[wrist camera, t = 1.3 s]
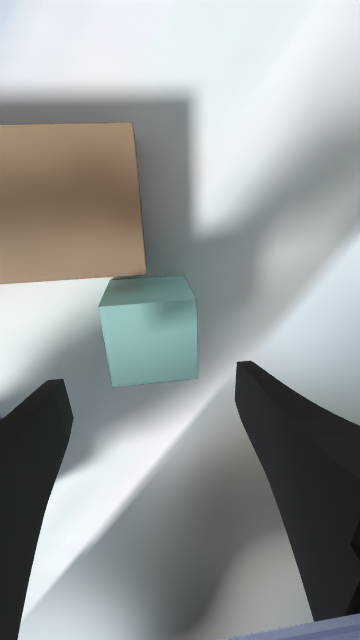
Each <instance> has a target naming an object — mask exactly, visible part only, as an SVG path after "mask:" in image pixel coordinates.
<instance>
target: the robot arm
mask: <svg viewBox="0 0 360 640" xmlns="http://www.w3.org/2000/svg"><path fill="white" fill-rule="evenodd" d="M235 402H236V406H237V409H238V412H239V415H240V418H241V421H242V423H243V426H244V428H245V430H246V432H247V434H248V436H249V439H250V441H251V443H252V445H253V447H254V449H255V452H256V454H257V456H258V458H259V460H260V462H261V464H262V466H263V469H264V471H265V473H266V475H267V478H268V480H269V483H270V485H271V488H272V491H273V494H274V497H275V500H276V502H277V505H278V508H279V511H280V514H281V517H282V520H283V523H284V526H285V528H286V531H287V534H288V538H289V541H290V544H291V547H292V550H293V553H294V556H295V559H296V563H297V566H298V569H299V572H300V575H301V579H302V582H303V586H304V589H305V592H306V596H307V599H308V602H309V606H310V609H311V612H312V616H313V619H314V622H311V623H306V624H301V625H295V626H290V627H284V628H279V629H273V630H268V631H263V632H257V633H252V634H246V635H241V636H236V637H230V638H225V639H219V640H360V426H359V425H357V424H355V423H352V422H350V421H348V420H346V419H344V418H342V417H339V416H337V415H335V414H333V413H332V412H330V411H328V410H326V409H324V408H322V407H320V406H318V405H317V404H315V403H313V402H311V401H309V400H308V399H306V398H305V397H303V396H301V395H300V394H298V393H297V392H295V391H294V390H292V389H291V388H289V387H288V386H286V385H285V384H283V383H282V382H280V381H279V380H277V379H276V378H275V377H273V376H272V375H270V374H269V373H268V372H266V371H265V370H263V369H262V368H261V367H259V366H258V365H256V364H255V363H254V362H252V361H242V362H237V369H236V387H235ZM72 423H73V414H72V410H71V406H70V403H69V399H68V395H67V391H66V388H65V384H64V380H63V379H57V380H48V381H46V382H45V383H44V384H42V385H41V386H40V387H39V388H38V389H37V390H35V391H34V392H33V393H32V394H31V395H30V396H29V397H27V398H26V399H25V400H24V401H23V402H22V403H21V404H19V405H18V406H17V407H16V408H15V409H14V410H12V411H11V412H10V413H9V414H8V415H7V416H5V417H4V418H3V419H2V420H0V640H17V639H18V633H19V628H20V622H21V617H22V612H23V607H24V602H25V597H26V592H27V587H28V582H29V577H30V573H31V569H32V564H33V560H34V555H35V551H36V546H37V542H38V538H39V534H40V530H41V526H42V522H43V517H44V513H45V510H46V507H47V503H48V500H49V497H50V494H51V491H52V489H53V486H54V483H55V480H56V477H57V474H58V471H59V468H60V466H61V463H62V460H63V457H64V454H65V451H66V448H67V445H68V442H69V437H70V433H71V428H72Z"/></svg>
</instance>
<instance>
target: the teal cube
mask: <svg viewBox="0 0 360 640" xmlns="http://www.w3.org/2000/svg"><path fill="white" fill-rule="evenodd" d="M98 309H99V314H100V320H101V326H102V331H103V337H104V343H105V348H106V354H107V360H108V365H109V371H110V377H111V382H112V387H121V386H130V385H140V384H150V383H159V382H169V381H178V380H188V379H197V378H198V362H197V300H196V297H195V295H194V293H193V291H192V289H191V287H190V285H189V283H188V281H187V280H186V278H185V276H184V275H178V276H163V277H149V278H134V279H120V280H110V281H109V283H108V286H107V288H106V290H105V292H104V295H103V297H102V299H101V302H100V304H99V306H98Z"/></svg>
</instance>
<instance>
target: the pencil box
mask: <svg viewBox="0 0 360 640" xmlns="http://www.w3.org/2000/svg"><path fill="white" fill-rule="evenodd" d="M131 275H146V255H145V244H144V233H143V222H142V211H141V200H140V189H139V178H138V167H137V156H136V145H135V135H134V130H133V125H132V123H79V124H25V125H0V284H12V283H27V282H42V281H57V280H71V279H86V278H101V277H116V276H131Z"/></svg>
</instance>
